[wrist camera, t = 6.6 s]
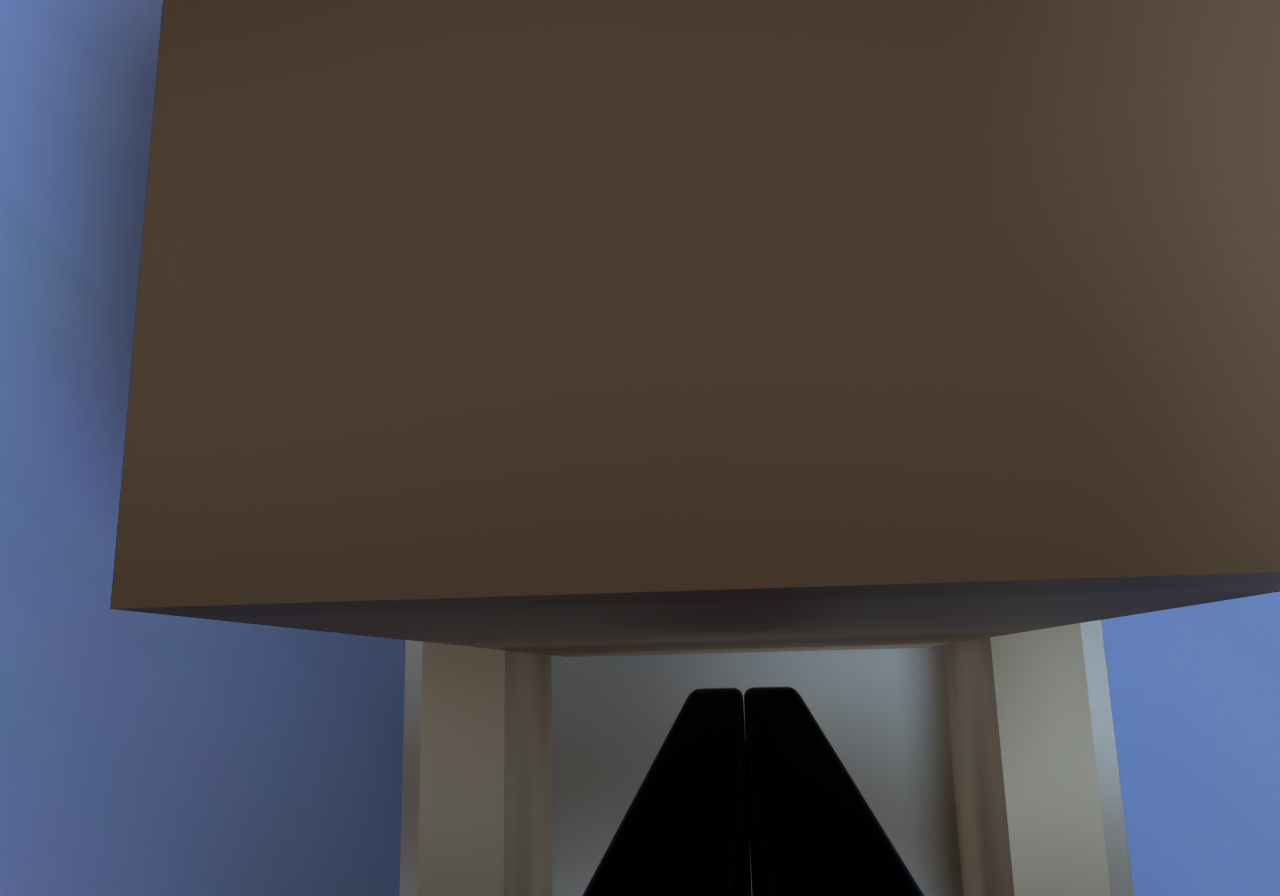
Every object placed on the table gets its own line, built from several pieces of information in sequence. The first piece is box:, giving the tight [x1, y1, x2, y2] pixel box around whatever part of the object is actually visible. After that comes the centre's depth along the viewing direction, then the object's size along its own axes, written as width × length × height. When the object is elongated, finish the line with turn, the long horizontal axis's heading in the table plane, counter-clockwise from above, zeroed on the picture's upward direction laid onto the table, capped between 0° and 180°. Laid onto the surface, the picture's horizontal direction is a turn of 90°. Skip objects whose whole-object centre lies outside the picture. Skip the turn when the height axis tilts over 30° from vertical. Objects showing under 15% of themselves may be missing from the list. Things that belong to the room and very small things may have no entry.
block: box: [110, 0, 1280, 657], centre depth 10 cm, size 6×5×11 cm
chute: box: [399, 620, 1133, 896], centre depth 13 cm, size 18×10×4 cm, turn 1°
